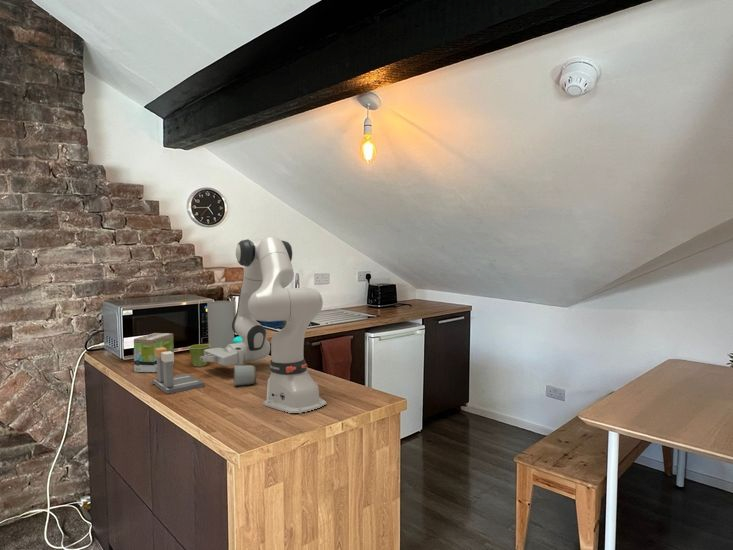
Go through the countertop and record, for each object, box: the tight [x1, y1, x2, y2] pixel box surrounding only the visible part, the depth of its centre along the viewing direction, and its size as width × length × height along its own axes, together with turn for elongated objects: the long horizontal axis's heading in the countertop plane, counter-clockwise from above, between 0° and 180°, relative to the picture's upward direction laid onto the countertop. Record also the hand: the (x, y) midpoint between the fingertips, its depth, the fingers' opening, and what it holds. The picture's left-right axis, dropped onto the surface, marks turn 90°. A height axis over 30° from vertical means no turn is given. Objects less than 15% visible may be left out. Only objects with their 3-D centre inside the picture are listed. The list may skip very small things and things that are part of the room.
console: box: [151, 372, 206, 395], centre depth 186 cm, size 18×14×2 cm
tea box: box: [133, 332, 175, 373], centre depth 210 cm, size 15×10×15 cm, turn 171°
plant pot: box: [187, 343, 210, 368], centre depth 215 cm, size 9×9×9 cm
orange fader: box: [155, 347, 167, 382], centre depth 185 cm, size 4×3×12 cm
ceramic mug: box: [233, 364, 257, 387], centre depth 187 cm, size 11×8×8 cm
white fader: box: [161, 351, 175, 387], centre depth 178 cm, size 4×3×12 cm
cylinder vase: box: [206, 300, 235, 349], centre depth 242 cm, size 12×12×25 cm
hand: (201, 359), depth 195 cm, fingers closed
